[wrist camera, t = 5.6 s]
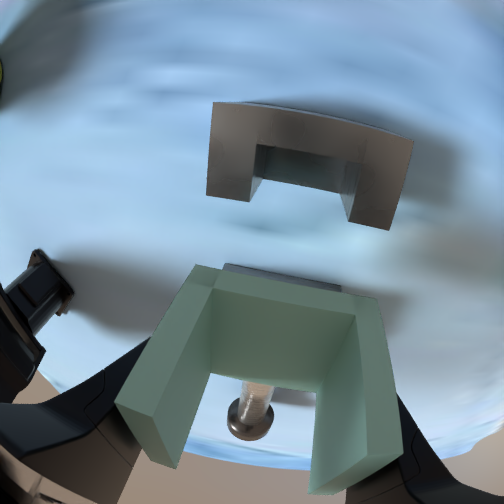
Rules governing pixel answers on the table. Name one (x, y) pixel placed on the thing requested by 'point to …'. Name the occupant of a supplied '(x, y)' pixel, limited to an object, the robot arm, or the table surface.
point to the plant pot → (0, 72)
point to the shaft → (251, 412)
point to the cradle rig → (306, 163)
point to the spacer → (270, 369)
